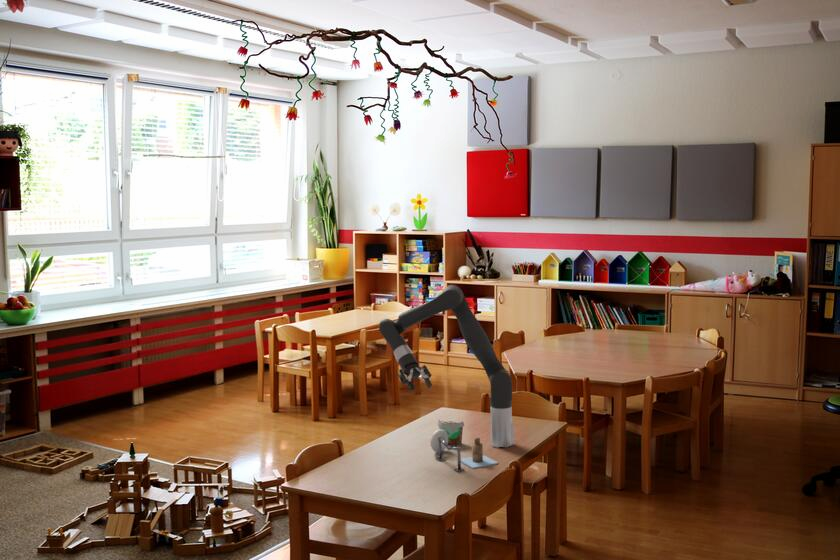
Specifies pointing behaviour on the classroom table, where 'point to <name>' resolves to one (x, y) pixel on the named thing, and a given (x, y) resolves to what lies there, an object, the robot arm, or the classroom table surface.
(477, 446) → the brown bottle
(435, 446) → the grey wheel
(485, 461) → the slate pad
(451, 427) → the food container
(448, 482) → the classroom table surface
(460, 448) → the grey stand
